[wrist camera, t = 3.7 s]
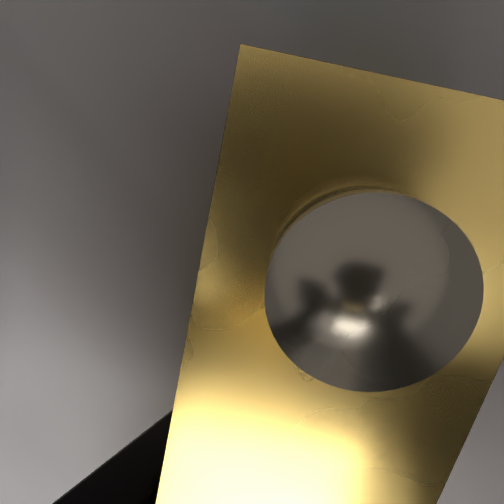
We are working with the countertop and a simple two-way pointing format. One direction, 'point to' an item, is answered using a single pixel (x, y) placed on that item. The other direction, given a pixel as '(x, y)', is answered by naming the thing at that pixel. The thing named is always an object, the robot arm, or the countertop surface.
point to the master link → (341, 290)
